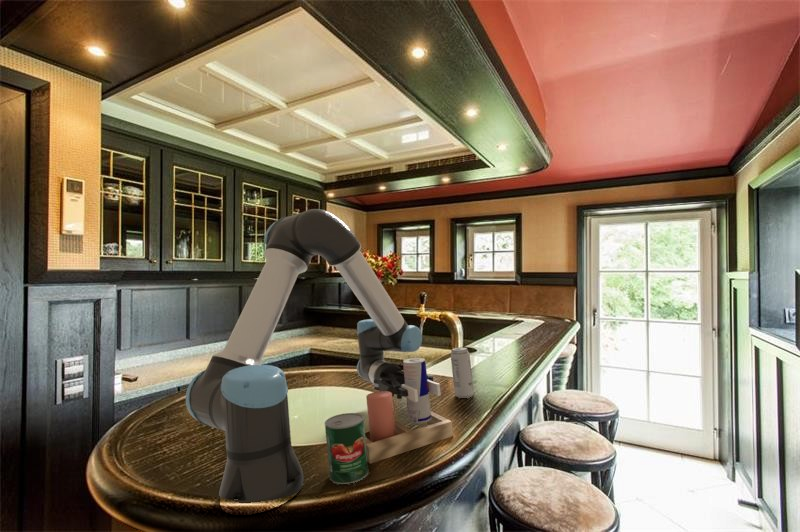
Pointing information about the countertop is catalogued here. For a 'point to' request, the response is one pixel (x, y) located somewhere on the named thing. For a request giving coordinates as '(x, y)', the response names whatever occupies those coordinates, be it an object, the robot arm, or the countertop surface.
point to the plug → (380, 415)
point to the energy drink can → (462, 372)
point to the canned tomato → (346, 448)
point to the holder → (409, 438)
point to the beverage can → (417, 380)
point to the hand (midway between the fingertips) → (427, 392)
